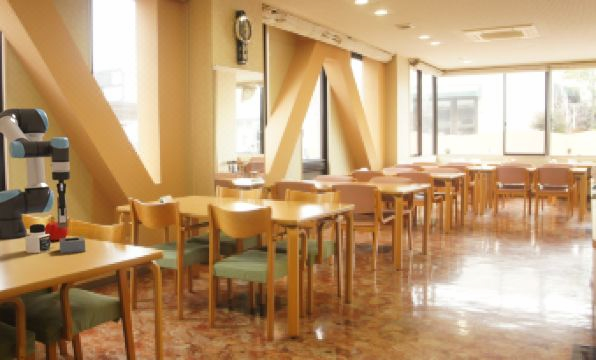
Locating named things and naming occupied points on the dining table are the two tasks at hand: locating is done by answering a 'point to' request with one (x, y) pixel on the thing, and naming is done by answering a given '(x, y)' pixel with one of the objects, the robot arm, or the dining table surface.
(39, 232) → the medicine bottle
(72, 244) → the socket
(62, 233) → the red bell pepper
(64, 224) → the peg
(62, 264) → the dining table surface
